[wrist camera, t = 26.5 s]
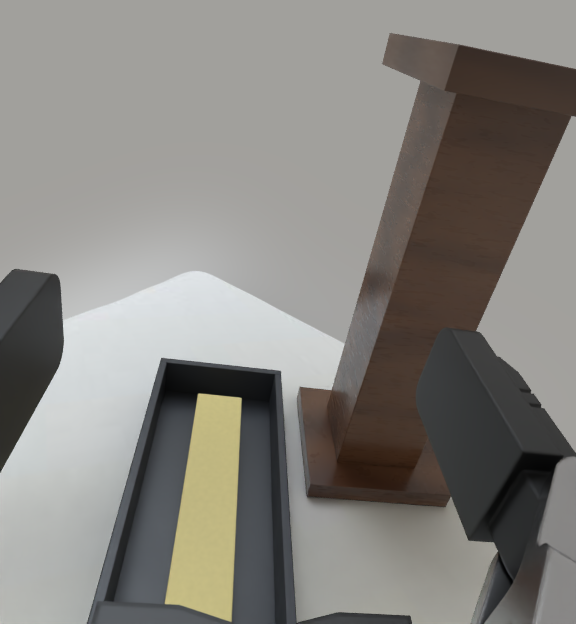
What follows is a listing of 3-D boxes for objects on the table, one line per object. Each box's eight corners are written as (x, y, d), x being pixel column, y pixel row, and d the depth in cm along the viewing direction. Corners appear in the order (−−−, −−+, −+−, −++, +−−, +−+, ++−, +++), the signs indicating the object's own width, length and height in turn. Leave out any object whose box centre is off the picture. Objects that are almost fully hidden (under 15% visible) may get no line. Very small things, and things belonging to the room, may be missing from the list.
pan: (286, 708, 28) (299, 673, 26) (77, 704, 26) (74, 667, 24) (273, 403, 49) (280, 370, 47) (159, 391, 48) (161, 357, 46)
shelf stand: (449, 517, 41) (678, 90, 24) (307, 507, 39) (448, 42, 23) (406, 403, 53) (539, 64, 36) (296, 391, 51) (382, 31, 35)
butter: (225, 657, 29) (231, 628, 27) (158, 655, 28) (160, 625, 27) (237, 424, 45) (241, 397, 43) (195, 420, 44) (198, 393, 43)
